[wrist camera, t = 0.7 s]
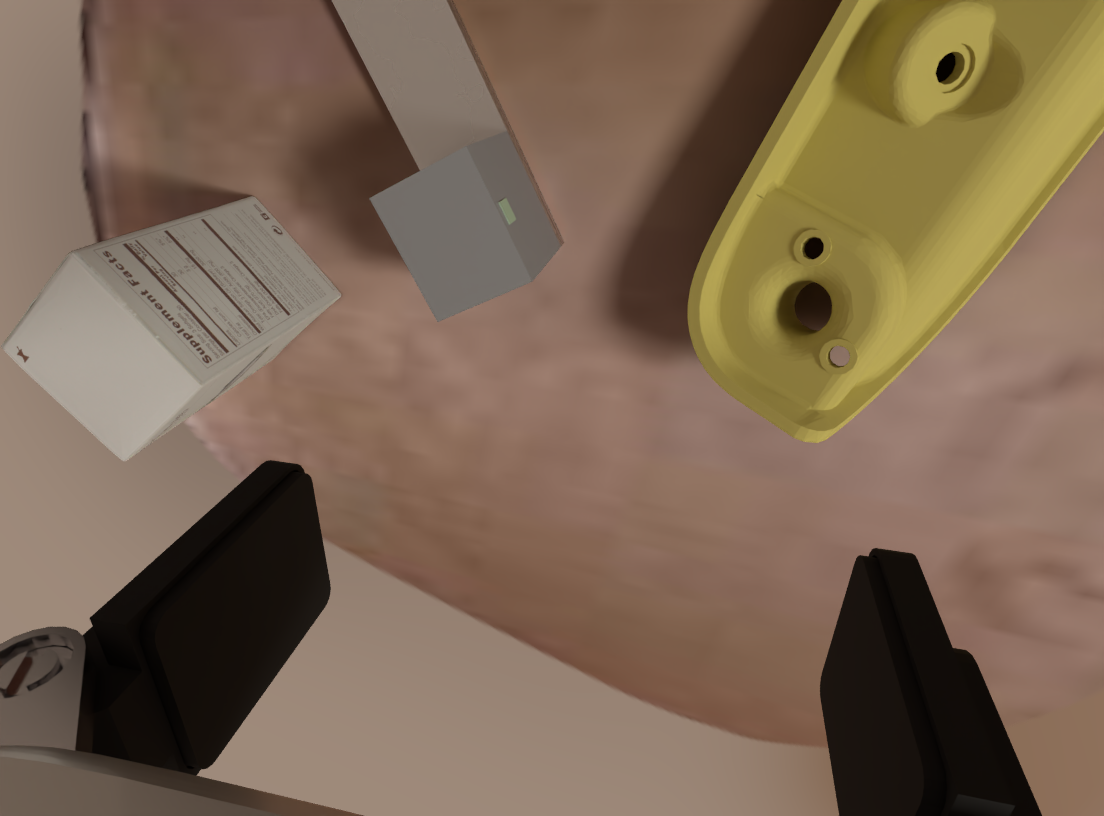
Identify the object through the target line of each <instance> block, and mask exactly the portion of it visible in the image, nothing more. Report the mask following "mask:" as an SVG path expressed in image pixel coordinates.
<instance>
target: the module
mask: <svg viewBox="0 0 1104 816" xmlns="http://www.w3.org/2000/svg"><path fill="white" fill-rule="evenodd" d="M369 199H370V201H371V202H372V204H373V206H374V208H375V210H376V211H377V213H378V215H379V217H380V219H381V220H382V222H383V224H384V226H385V228H386V230H387V231H388V233H389V235H390V237H391V239H392V240H393V242H394V244H395V246H396V248H397V249H398V251H399V253H400V255H401V257H402V258H403V260H404V262H405V264H406V266H407V267H408V269H409V271H410V273H411V275H412V277H413V278H414V280H415V282H416V284H417V286H418V287H419V289H420V291H421V293H422V295H423V296H424V298H425V300H426V302H427V304H428V305H429V307H430V309H431V311H432V313H433V314H434V316H435V318H436V320H437V322H439V321H441V320H444V319H446V318H448V317H451V316H453V315H455V314H458V313H460V312H462V311H465V310H467V309H469V308H472V307H474V306H476V305H479V304H481V303H483V302H486V301H488V300H490V299H493V298H495V297H497V296H500V295H502V294H504V293H507V292H509V291H511V290H514V289H516V288H518V287H521V286H523V285H525V284H528V283H530V282H532V281H533V280H534V279H535V278H536V276H537V275H538V274H539V273H540V272H541V270H542V269H543V268H544V267H545V266H546V264H547V263H548V262H549V261H550V259H551V258H552V257H553V256H554V255H555V253H556V252H557V251H558V250H559V248H560V247H561V246H560V244H559V241H558V239H557V237H556V235H555V233H554V231H553V228H552V226H551V224H550V222H549V220H548V218H547V216H546V213H545V211H544V209H543V207H542V205H541V203H540V200H539V198H538V196H537V194H536V192H535V190H534V187H533V185H532V183H531V181H530V179H529V177H528V175H527V172H526V170H525V168H524V166H523V164H522V162H521V159H520V157H519V155H518V153H517V151H516V149H515V147H514V144H513V142H512V140H511V138H510V136H509V134H508V131H506V132H503V133H500V134H497V135H495V136H492V137H489V138H487V139H484V140H481V141H478V142H476V143H473V144H470V145H467V146H465V147H463V148H462V149H460V150H458V151H456V152H454V153H452V154H450V155H449V156H447V157H445V158H443V159H441V160H439V161H437V162H436V163H434V164H432V165H430V166H428V167H426V168H424V169H423V170H421V171H419V172H417V173H415V174H413V175H411V176H410V177H408V178H406V179H404V180H402V181H400V182H398V183H397V184H395V185H393V186H391V187H389V188H387V189H385V190H384V191H382V192H380V193H378V194H376V195H374V196H372V197H371V198H369Z"/></svg>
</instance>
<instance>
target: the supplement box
mask: <svg viewBox="0 0 1104 816" xmlns="http://www.w3.org/2000/svg"><path fill="white" fill-rule="evenodd" d="M340 297H341V293H340V292H339V291H338V289H337V288H336V287H335V286H334V285H333V284H332V282H331V281H330V280H329V279H328V278H327V277H326V276H325V274H324V273H323V272H322V271H321V270H320V269H319V268H318V266H317V265H316V264H315V263H314V262H313V261H312V260H311V259H310V258H309V256H308V255H307V254H306V253H305V252H304V251H303V250H302V248H301V247H300V246H299V245H298V244H297V243H296V242H295V241H294V240H293V238H292V237H291V236H290V235H289V234H288V233H287V232H286V230H285V229H284V228H283V227H282V226H281V225H280V224H279V223H278V222H277V220H276V219H275V218H274V217H273V216H272V215H271V214H270V213H269V212H268V211H267V209H266V208H265V207H264V206H263V205H262V204H261V203H260V202H259V201H258V200H257V199H256V198H255V197H254V196H250V197H247V198H244V199H241V200H238V201H234V202H231V203H228V204H225V205H222V206H219V207H216V208H212V209H209V210H205V211H202V212H199V213H195V214H192V215H189V216H185V217H182V218H179V219H176V220H172V221H169V222H165V223H162V224H159V225H155V226H152V227H148V228H145V229H141V230H138V231H135V232H132V233H128V234H125V235H121V236H118V237H115V238H111V239H108V240H105V241H102V242H98V243H95V244H92V245H89V246H86V247H83V248H80V249H77V250H74V251H71V252H70V253H68V255H67V256H66V257H65V259H64V260H63V261H62V263H61V264H60V265H59V267H58V268H57V270H56V271H55V273H54V274H53V275H52V277H51V278H50V280H49V281H48V282H47V284H46V285H45V286H44V288H43V289H42V291H41V292H40V293H39V295H38V296H37V297H36V298H35V300H33V302H32V303H31V304H30V306H29V308H28V310H27V311H26V313H25V314H24V315H23V317H22V318H21V319H20V321H19V322H18V324H17V325H16V326H15V328H14V329H13V330H12V332H11V333H10V335H9V336H8V337H7V339H6V340H5V341H4V342H3V344H2V345H1V347H2V349H3V350H4V351H5V352H6V353H7V354H8V355H9V356H10V357H11V358H12V359H13V360H14V361H15V362H16V363H17V364H18V365H19V366H20V367H21V368H22V369H23V370H24V371H25V372H26V373H27V374H28V375H29V376H30V377H31V378H32V379H33V380H35V381H36V382H37V383H38V384H39V385H40V386H41V387H42V388H43V389H45V391H46V392H48V393H49V394H50V395H51V396H52V397H53V398H54V399H55V400H56V401H57V402H59V403H60V404H61V405H62V406H63V407H64V408H65V409H66V410H67V411H68V412H69V413H70V414H71V415H72V416H74V417H75V418H76V419H77V420H78V421H79V422H80V423H81V424H82V425H83V426H84V427H85V428H87V429H88V430H89V431H90V432H91V433H92V434H93V435H94V436H95V437H96V438H97V439H98V440H99V441H101V442H102V443H103V444H104V445H105V446H106V447H107V448H108V449H109V450H110V451H111V452H112V453H114V454H115V455H116V456H117V457H119V458H120V459H121V460H122V461H127V460H128V459H130V458H131V457H132V456H134V455H135V454H137V453H138V452H139V451H141V450H142V449H144V448H145V447H147V446H148V445H149V444H151V443H152V442H154V441H155V440H157V439H158V438H160V437H161V436H163V435H164V434H165V433H167V432H168V431H170V430H171V429H173V428H174V427H175V426H177V425H178V424H180V423H181V422H183V421H184V420H186V419H187V418H189V417H190V416H192V415H193V414H194V413H196V412H197V411H199V410H200V409H202V408H203V407H205V406H206V405H208V404H209V403H211V402H212V401H214V400H215V399H217V398H218V397H220V396H221V395H223V394H224V393H225V392H227V391H228V390H230V389H231V388H233V387H234V386H236V385H237V384H238V383H240V382H241V381H243V380H244V379H246V378H247V377H249V376H250V375H252V374H253V373H255V372H256V371H257V370H259V369H260V368H262V367H263V366H265V365H266V364H267V363H269V362H270V361H272V360H273V359H274V358H275V357H276V356H277V355H278V354H279V353H280V352H281V351H282V350H283V349H284V348H285V347H286V346H287V345H288V344H289V343H290V342H291V341H292V340H293V339H294V338H295V337H296V336H297V335H298V334H299V333H300V332H302V331H303V330H304V329H305V328H306V327H307V326H308V325H309V324H310V323H311V322H313V321H314V320H315V319H316V318H317V317H318V316H319V315H320V314H321V313H322V312H324V311H325V310H326V309H327V308H328V307H329V306H331V305H332V304H333V303H334V302H335V301H336V300H338V299H339V298H340Z"/></svg>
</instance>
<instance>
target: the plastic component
mask: <svg viewBox="0 0 1104 816" xmlns="http://www.w3.org/2000/svg"><path fill="white" fill-rule="evenodd" d="M949 53H952V54H953V55H954V56H955V63H956V65H955V67H954V70H953V73H952V74H951V75H950V76H949V77H948V78H947V79H946V80H945V81H942V82H938V80H937V76H936V70H937V67H938V63H939V61H940V60H941V59H942V58H943V57H944V56H945V55H946V54H949ZM1103 131H1104V0H842V2H841V3H840V5H839V7H838V9H837V10H836V12H835V14H834V16H833V18H832V19H831V21H830V23H829V25H828V26H827V28H826V30H825V32H824V34H823V35H822V37H821V39H820V41H819V42H818V44H817V46H816V48H815V50H814V51H813V53H812V55H811V57H810V58H809V60H808V62H807V64H806V65H805V67H804V69H803V71H802V73H801V74H800V76H799V78H798V80H797V81H796V83H795V85H794V87H793V89H792V90H791V92H790V94H789V96H788V97H787V99H786V101H785V103H784V105H783V106H782V108H781V110H780V112H779V113H778V115H777V117H776V119H775V120H774V122H773V124H772V126H771V128H770V129H769V131H768V133H767V135H766V136H765V138H764V140H763V142H762V144H761V145H760V147H759V149H758V151H757V152H756V154H755V156H754V158H753V160H752V161H751V163H750V165H749V167H748V168H747V170H746V172H745V174H744V175H743V177H742V179H741V181H740V183H739V184H738V186H737V188H736V190H735V191H734V193H733V195H732V197H731V199H730V200H729V202H728V204H727V206H726V208H725V210H724V212H723V214H722V215H721V217H720V219H719V221H718V223H717V225H716V227H715V228H714V230H713V232H712V234H711V236H710V238H709V240H708V243H707V245H706V247H705V249H704V251H703V253H702V255H701V258H700V260H699V263H698V265H697V268H696V271H695V273H694V277H693V280H692V284H691V288H690V292H689V299H688V316H687V318H688V326H689V333H690V337H691V340H692V344H693V347H694V349H695V352H696V354H697V356H698V358H699V360H700V362H701V364H702V365H703V367H704V369H705V370H706V371H707V373H708V374H709V375H710V376H711V378H712V379H713V380H714V381H715V382H716V383H717V384H718V385H719V386H720V387H721V388H723V389H724V390H725V391H726V392H727V393H728V394H730V395H731V396H732V397H734V398H735V399H736V400H738V401H739V402H741V403H742V404H744V405H745V406H747V407H748V408H750V409H751V410H753V411H754V412H756V413H757V414H759V415H760V416H762V417H763V418H765V419H766V420H768V421H769V422H771V423H772V424H774V425H775V426H777V427H778V428H780V429H781V430H783V431H784V432H786V433H787V434H789V435H790V436H792V437H793V438H796V439H798V440H801V441H804V442H813V443H817V442H821V441H824V440H826V439H828V438H829V437H830V436H832V435H833V434H834V433H836V432H837V431H838V430H839V429H840V428H842V427H843V426H844V425H845V424H847V423H848V422H849V421H850V420H851V419H852V418H854V417H855V416H856V415H857V414H858V413H859V412H860V411H862V410H863V409H864V408H865V407H866V406H867V405H868V404H869V403H870V402H871V401H873V400H874V399H875V398H876V397H877V396H878V395H879V394H880V393H881V392H882V391H883V390H884V389H885V388H886V387H887V386H888V385H889V384H890V383H891V382H892V381H893V380H894V379H895V378H896V377H897V376H898V375H899V374H900V373H901V372H902V371H903V370H905V369H906V368H907V367H908V365H909V364H910V363H911V362H912V361H913V360H914V359H915V358H916V357H917V356H918V355H919V354H920V353H921V352H922V351H923V350H924V349H925V348H926V347H927V346H928V345H929V344H930V342H931V341H932V340H933V339H934V338H935V337H936V336H937V335H938V334H939V333H940V332H941V331H942V329H943V328H944V327H945V326H946V325H947V324H948V323H949V322H950V321H951V320H952V318H953V317H954V316H955V315H956V314H957V313H958V312H959V310H960V309H961V308H962V307H963V306H964V305H965V304H966V302H967V301H968V300H969V299H970V298H971V297H972V295H973V294H974V293H975V292H976V291H977V290H978V288H979V287H980V286H981V285H982V284H983V282H984V281H985V280H986V279H987V278H988V276H989V275H990V274H991V273H992V272H993V270H994V269H995V268H996V267H997V266H998V264H999V263H1000V262H1001V261H1002V260H1003V258H1004V257H1005V256H1006V255H1007V253H1008V252H1009V251H1010V250H1011V248H1012V247H1013V246H1014V245H1015V243H1016V242H1017V241H1018V239H1019V238H1020V237H1021V236H1022V234H1023V233H1024V232H1025V231H1026V229H1027V228H1028V227H1029V225H1030V224H1031V223H1032V222H1033V220H1034V219H1035V218H1036V217H1037V215H1038V214H1039V213H1040V211H1041V210H1042V209H1043V208H1044V206H1045V205H1046V204H1047V202H1048V201H1049V200H1050V199H1051V197H1052V196H1053V195H1054V194H1055V192H1056V191H1057V190H1058V188H1059V187H1060V186H1061V185H1062V183H1063V182H1064V181H1065V180H1066V178H1067V177H1068V176H1069V174H1070V173H1071V172H1072V171H1073V169H1074V168H1075V167H1076V166H1077V164H1078V163H1079V162H1080V160H1081V159H1082V158H1083V157H1084V155H1085V154H1086V153H1087V152H1088V150H1089V149H1090V148H1091V146H1092V145H1093V144H1094V143H1095V141H1096V140H1097V139H1098V138H1099V136H1100V135H1101V134H1102V132H1103ZM815 237H817V238H820V239H821V241H822V242H823V244H824V249H823V252H822V254H821V255H820V256H819V257H817V258H816V259H811V258H809V257H807V256H806V254H805V251H804V249H805V245H806V243H807V242H808V241H809V240H810V239H811V238H815ZM812 282H815V283H818V284H820V285H821V286H823V287H824V288H825V289H826V290H827V292H828V294H829V295H830V298H831V301H832V313H831V317H830V319H829V321H828V322H827V324H826V325H825V326H824V327H823V328H822V329H821V330H820V331H817V330H811V329H809V328H807V327H806V326H804V325H802V324H801V322H800V321H799V319H798V318H797V316H796V313H795V301H796V297H797V296H798V294H799V292H800V291H801V289H803V288H804V287H805V286H806V285H807V284H810V283H812ZM837 345H838V346H842V347H845V348H846V349H847V350H848V351H849V354H850V359H849V362H848V364H846V365H845V366H837V365H835V364H834V363H832V361H831V359H830V351H831V350H832V349H833V347H835V346H837Z"/></svg>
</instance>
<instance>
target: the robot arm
mask: <svg viewBox="0 0 1104 816" xmlns="http://www.w3.org/2000/svg"><path fill="white" fill-rule="evenodd" d="M330 590H331V587H330V580H329V574H328V569H327V563H326V557H325V551H324V546H323V540H322V534H321V529H320V523H319V517H318V512H317V506H316V500H315V494H314V489H313V483H312V479H311V477H310V475H308V474H306V473H305V472H304V469H303V468H302V467H301V466H300V465H298V464H293V463H286V462H279V461H272V460H270V461H266V462H264V463H263V464H261V465H260V466H259V467H258V468H257V469H256V470H255V471H253V472H252V473H251V474H250V475H249V476H248V477H247V478H246V479H245V480H243V481H242V482H241V483H240V484H239V485H238V486H237V487H236V488H234V490H232V491H231V492H230V493H229V494H228V495H227V496H226V497H224V498H223V499H222V500H221V501H220V502H219V503H218V504H217V505H215V507H213V508H212V509H211V510H210V511H209V512H208V513H207V514H205V515H204V516H203V517H202V518H201V519H200V520H199V521H198V522H197V523H195V524H194V525H193V526H192V527H191V528H190V529H189V530H188V531H186V532H185V533H184V534H183V535H182V536H181V537H180V538H179V539H177V540H176V541H175V542H174V543H173V544H172V545H171V546H170V547H169V548H167V549H166V550H165V551H164V552H163V553H162V554H161V555H160V556H158V557H157V558H156V559H155V560H154V561H153V562H152V563H151V564H150V565H148V566H147V567H146V568H145V569H144V570H143V571H142V572H141V573H139V574H138V575H137V576H136V577H135V578H134V579H133V580H132V581H131V582H129V583H128V584H127V585H126V586H125V587H124V588H123V589H122V590H121V591H119V592H118V593H117V594H116V595H115V596H114V597H113V598H112V599H110V600H109V601H108V602H107V603H106V604H105V605H104V606H103V607H102V608H100V609H99V610H98V611H97V612H96V613H95V614H94V615H93V616H91V617H90V620H91V623H92V625H93V627H92V628H90V629H89V630H88V631H87V632H86V633H85V634H84V635H83V636H82V635H81V634H80V633H79V632H78V631H77V630H74V629H71V628H67V627H46V628H41V629H36V630H32V631H29V632H27V633H23V634H21V635H18V636H15V637H13V638H11V639H9V640H7V641H5V642H4V643H2V644H0V816H363V815H359V814H354V813H351V812H346V811H343V810H339V809H334V808H330V807H326V806H321V805H318V804H313V803H309V802H305V801H301V800H297V799H292V798H288V797H284V796H279V795H275V794H271V793H267V792H263V791H258V790H254V789H250V788H246V787H242V786H238V785H233V784H229V783H225V782H221V781H216V780H212V779H208V778H204V777H200V776H196V775H197V774H198V773H199V771H200V770H201V769H206V768H208V767H209V766H211V765H212V764H213V763H214V762H215V760H216V759H217V758H218V756H219V755H220V754H221V752H222V751H223V749H224V748H225V747H226V745H227V744H228V742H229V741H230V740H231V738H232V737H233V735H234V734H235V732H236V731H237V730H238V728H239V727H240V726H241V724H242V723H243V721H244V720H245V719H246V717H247V716H248V714H249V713H250V712H251V710H252V708H253V707H254V706H255V705H256V703H257V702H258V700H259V699H260V698H261V696H262V695H263V693H264V692H265V691H266V689H267V688H268V686H269V685H270V684H271V682H272V681H273V679H274V678H275V676H276V675H277V673H278V672H279V671H280V669H281V668H282V667H283V665H284V664H285V662H286V661H287V660H288V658H289V657H290V655H291V654H292V653H293V651H294V650H295V648H296V647H297V646H298V644H299V643H300V641H301V640H302V639H303V637H304V636H305V634H306V633H307V632H308V630H309V629H310V627H311V626H312V624H313V623H314V622H315V620H316V619H317V618H318V616H319V615H320V613H321V612H322V610H323V609H324V608H325V606H326V604H327V602H328V600H329V596H330ZM820 697H821V704H822V710H823V717H824V723H825V729H826V735H827V742H828V748H829V753H830V760H831V766H832V773H833V778H834V785H835V791H836V798H837V803H838V810H839V816H1042V814H1041V812H1040V810H1039V807H1038V805H1037V803H1036V800H1035V798H1034V796H1033V793H1032V791H1031V789H1030V786H1029V784H1028V782H1027V779H1026V777H1025V775H1024V772H1023V770H1022V768H1021V765H1020V763H1019V760H1018V758H1017V756H1016V753H1015V751H1014V749H1013V746H1012V744H1011V742H1010V739H1009V737H1008V735H1007V732H1006V730H1005V728H1004V725H1003V723H1002V721H1001V718H1000V716H999V714H998V711H997V709H996V707H995V704H994V702H993V700H992V697H991V695H990V693H989V690H988V688H987V686H986V683H985V681H984V679H983V676H982V674H981V672H980V669H979V667H978V665H977V663H976V661H975V659H974V658H973V656H972V655H971V654H970V653H969V652H968V651H967V650H962V649H956V648H952V645H951V643H950V640H949V638H948V635H947V633H946V630H945V627H944V625H943V622H942V620H941V617H940V615H939V612H938V610H937V607H936V605H935V602H934V600H933V597H932V595H931V592H930V590H929V587H928V585H927V582H926V580H925V577H924V575H923V572H922V570H921V567H920V565H919V562H918V560H917V558H916V556H915V555H914V554H912V553H905V552H898V551H892V550H885V549H878V548H874V549H872V551H871V552H870V554H869V556H861V555H860V556H858V557H857V558H856V561H855V564H854V567H853V571H852V574H851V577H850V581H849V584H848V587H847V591H846V594H845V597H844V601H843V604H842V608H841V611H840V614H839V618H838V621H837V624H836V628H835V631H834V634H833V638H832V641H831V645H830V648H829V651H828V655H827V658H826V661H825V665H824V668H823V671H822V676H821V682H820Z"/></svg>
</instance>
